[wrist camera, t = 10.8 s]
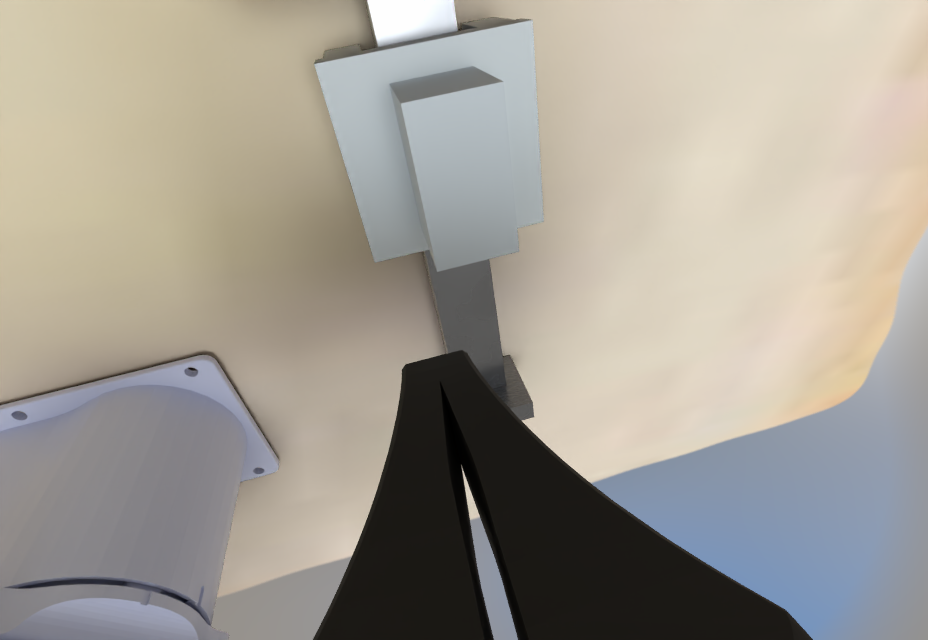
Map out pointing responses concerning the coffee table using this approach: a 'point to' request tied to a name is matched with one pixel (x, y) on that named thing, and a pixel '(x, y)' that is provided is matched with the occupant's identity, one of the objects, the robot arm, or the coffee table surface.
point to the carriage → (441, 140)
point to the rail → (454, 290)
